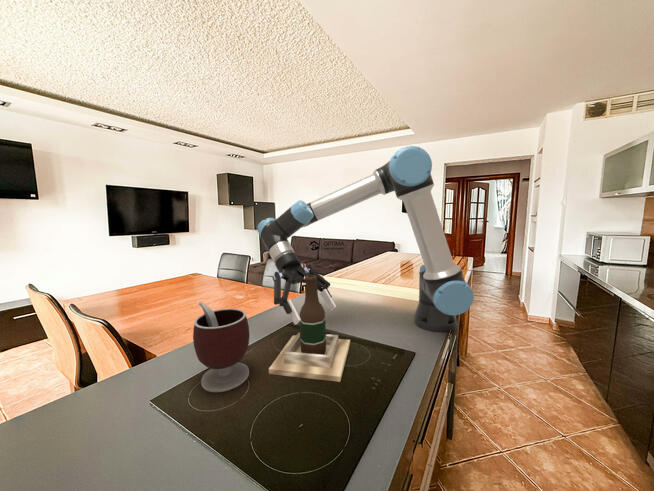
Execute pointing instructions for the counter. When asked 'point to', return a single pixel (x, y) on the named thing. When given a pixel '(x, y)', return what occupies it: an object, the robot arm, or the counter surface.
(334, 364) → the bottle holder
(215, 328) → the mate gourd
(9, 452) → the counter surface
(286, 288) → the robot arm
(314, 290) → the beer bottle
